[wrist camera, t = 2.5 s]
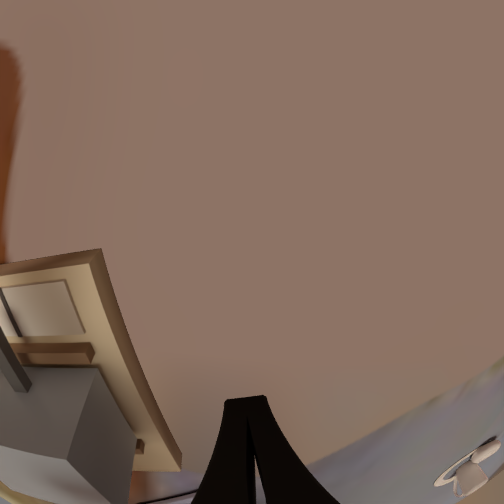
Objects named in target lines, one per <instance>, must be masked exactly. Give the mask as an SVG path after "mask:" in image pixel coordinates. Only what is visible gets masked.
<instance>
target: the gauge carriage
mask: <svg viewBox="0 0 504 504" xmlns="http://www.w3.org/2000/svg"><path fill="white" fill-rule="evenodd" d="M136 442H137V438H136V436H135V434H134V433H133V431H132V430H131V428H130V426H129V425H128V423H127V421H126V420H125V418H124V416H123V414H122V413H121V411H120V409H119V407H118V406H117V404H116V402H115V400H114V399H113V397H112V395H111V393H110V391H109V389H108V387H107V386H106V384H105V382H104V380H103V378H102V376H101V374H100V372H99V370H98V368H43V367H22V366H21V364H20V362H19V361H18V359H17V357H16V355H15V353H14V352H13V350H12V348H11V346H10V344H9V342H8V340H7V338H6V336H5V334H4V332H3V330H2V328H1V326H0V480H1V481H2V482H3V483H4V484H5V485H6V486H7V487H9V488H10V489H11V490H13V491H16V492H19V493H22V494H25V495H29V496H32V497H35V498H38V499H42V500H46V501H49V502H53V503H57V504H128V498H129V490H130V482H131V475H132V468H133V461H134V455H135V449H136Z"/></svg>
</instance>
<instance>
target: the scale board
mask: <svg viewBox="0 0 504 504" xmlns="http://www.w3.org/2000/svg"><path fill="white" fill-rule="evenodd" d="M0 326H1V328H2V330H3V332H4V334H5V336H6V338H7V340H8V342H9V344H10V346H11V348H12V350H13V352H14V353H15V355H16V357H17V359H18V361H19V362H20V364H21V366H22V367H43V368H98V370H99V372H100V374H101V376H102V378H103V380H104V382H105V384H106V386H107V387H108V389H109V391H110V393H111V395H112V397H113V399H114V400H115V402H116V404H117V406H118V407H119V409H120V411H121V413H122V414H123V416H124V418H125V420H126V421H127V423H128V425H129V426H130V428H131V430H132V431H133V433H134V434H135V436H136V438H137V442H136V449H135V455H134V461H133V468H132V470H134V471H164V472H177V471H181V462H182V453H181V451H180V449H179V447H178V446H177V444H176V442H175V440H174V438H173V436H172V434H171V432H170V430H169V428H168V426H167V424H166V422H165V420H164V418H163V415H162V413H161V411H160V409H159V407H158V405H157V403H156V400H155V398H154V396H153V394H152V391H151V389H150V387H149V385H148V382H147V380H146V378H145V375H144V373H143V370H142V368H141V365H140V363H139V361H138V358H137V356H136V353H135V351H134V348H133V345H132V343H131V340H130V337H129V334H128V332H127V329H126V326H125V324H124V321H123V318H122V315H121V312H120V309H119V306H118V303H117V300H116V297H115V294H114V291H113V288H112V284H111V281H110V277H109V274H108V271H107V267H106V264H105V260H104V257H103V253H102V249H101V248H100V249H93V250H87V251H81V252H74V253H68V254H61V255H56V256H50V257H43V258H37V259H31V260H25V261H20V262H13V263H7V264H2V265H0Z"/></svg>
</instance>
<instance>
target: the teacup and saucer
mask: <svg viewBox="0 0 504 504" xmlns="http://www.w3.org/2000/svg"><path fill="white" fill-rule="evenodd" d="M500 446H501V443H500V441H499V440H494V441H491V442H489V443H487V444H485V445H483V446H481V447H479V448H477V449H475V450H474V451H472V452H471V453H469V454H467V455H466V456H465V457H463V458H462V459H460V460H459V461H458V462H456V463H455V464H454V465H452V466H451V467H450V468H448V469H447V470H446V471H445V472H444V473H443V474H441V475H440V476H439V477H438V478H437V480H436V481H435V482H434V486H442V485H444V484H447V483H449V482H451V481H453V480H454V486H453V490H454V494H455V496H456V497H462V496H463V495H464V496H467V495H469V494H471V493H473V492H474V491H476V490H477V489H479V488H480V487H481V486H482V485H484V484H485V483H486V482H487V481H488V478H487V476H486V475H485V473H484V472H483V471H482V469H481V468H480V467H479V465H478V463H479V462H480V461H482V460H484V459H486V458H487V457H489V456H490V455H492V454H493V453H495V452H496V451H497V450H498V449H499V448H500ZM473 453H474V454H473ZM471 454H473V455H472V457H471V460H469V461H467V462H465V463H464V464H463V465H461V466H460V467H459V468H458V469H457V470H456V476H455V477H453V478H450V479H447V480H443V477H444V476H445V475H446V473H447V472H449V471H450V470H451V469H452V468H453V467H454V466H456V465H457V464H458V463H460V462H461V461H462V460H464V459H465V458H467V457H468V456H470V455H471ZM457 480H458V482H459V485H460V487H461V489H462V494H461V495H458V494H457V489H456V487H457Z"/></svg>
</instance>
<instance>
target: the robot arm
mask: <svg viewBox="0 0 504 504" xmlns="http://www.w3.org/2000/svg"><path fill="white" fill-rule="evenodd" d="M254 455H255V457H254ZM255 459H256V463H257V466H258V470H259V475H260V478H261V482H262V486H263V490H264V494H265V497H266V504H340V503H339V502H338V501H337V500H336V499H335V498H334V497H332V496H331V495H330V494H329V493H328V492H327V490H326V489H325V488H324V487H323V486H322V485H321V484H320V483H319V482H318V481H317V480H316V479H315V478H314V476H313V475H312V474H311V473H310V472H309V470H308V469H307V468H306V467H305V465H304V464H303V463H302V462H301V460H300V459H299V457H298V456H297V455H296V453H295V452H294V450H293V449H292V447H291V446H290V444H289V443H288V441H287V440H286V438H285V436H284V435H283V433H282V431H281V430H280V428H279V426H278V424H277V422H276V421H275V418H274V416H273V414H272V412H271V409H270V407H269V404H268V401H267V398H266V396H264V395H259V396H252V397H245V398H235V399H227V400H226V401H225V402H224V411H223V417H222V423H221V427H220V431H219V435H218V438H217V441H216V445H215V448H214V451H213V454H212V457H211V460H210V462H209V465H208V468H207V470H206V473H205V475H204V477H203V480H202V482H201V484H200V486H199V488H198V490H197V492H196V493H192V494H188V495H184V496H180V497H176V498H172V499H167V500H163V501H158V502H153V503H148V504H256V484H255Z"/></svg>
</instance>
